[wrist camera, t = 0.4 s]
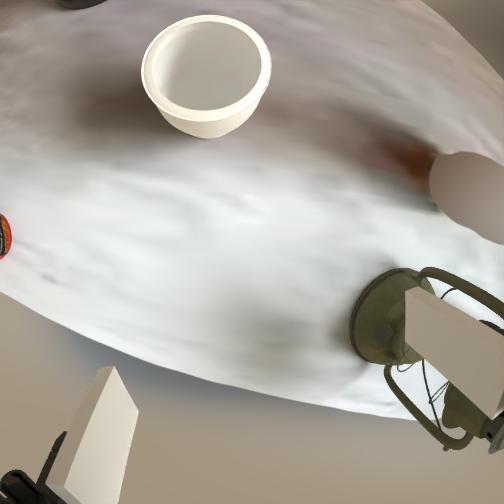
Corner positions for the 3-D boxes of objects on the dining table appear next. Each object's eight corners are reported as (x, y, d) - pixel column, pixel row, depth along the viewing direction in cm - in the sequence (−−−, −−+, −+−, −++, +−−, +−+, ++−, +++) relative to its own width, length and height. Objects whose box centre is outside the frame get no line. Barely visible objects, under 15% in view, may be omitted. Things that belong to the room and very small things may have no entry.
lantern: (370, 248, 41) (546, 334, 12) (448, 265, 44) (586, 328, 15) (332, 370, 45) (424, 514, 16) (411, 368, 48) (508, 467, 19)
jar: (163, 145, 35) (133, 121, 20) (172, 71, 33) (152, 14, 18) (247, 149, 36) (269, 126, 22) (253, 75, 34) (276, 19, 20)
